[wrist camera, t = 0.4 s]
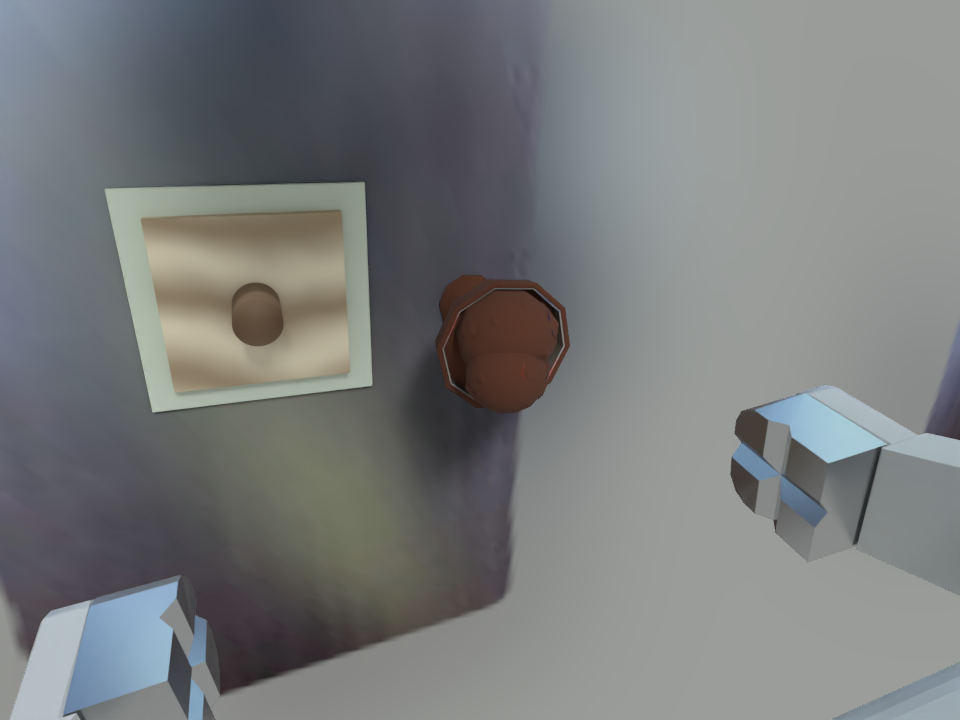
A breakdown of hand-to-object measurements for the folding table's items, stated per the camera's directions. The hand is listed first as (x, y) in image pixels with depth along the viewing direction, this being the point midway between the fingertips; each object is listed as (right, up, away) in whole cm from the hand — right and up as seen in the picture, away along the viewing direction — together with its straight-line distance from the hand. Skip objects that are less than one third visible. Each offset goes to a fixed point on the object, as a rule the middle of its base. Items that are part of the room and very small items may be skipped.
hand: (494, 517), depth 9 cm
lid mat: (-18, +7, +43) cm, 47 cm away
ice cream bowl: (-1, +7, +49) cm, 50 cm away
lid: (-18, +7, +42) cm, 47 cm away
